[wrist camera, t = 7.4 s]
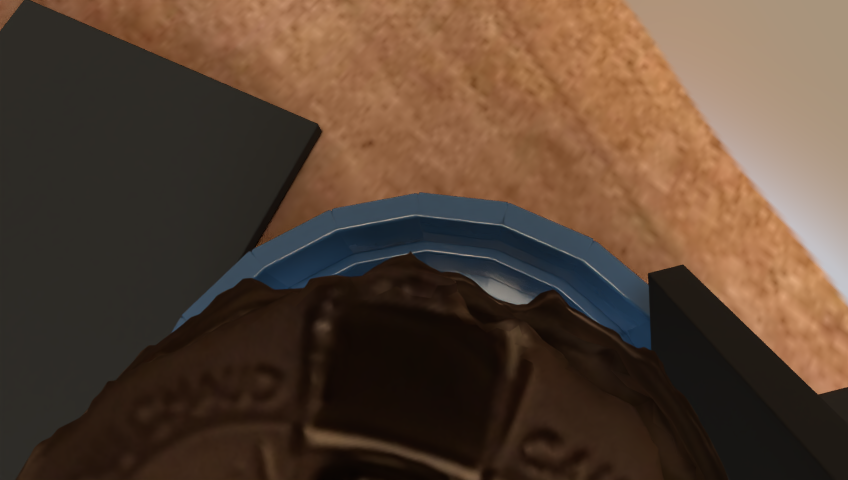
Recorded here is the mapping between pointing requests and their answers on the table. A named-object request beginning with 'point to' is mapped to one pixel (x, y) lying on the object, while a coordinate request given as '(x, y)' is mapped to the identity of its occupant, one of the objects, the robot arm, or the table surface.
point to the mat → (115, 208)
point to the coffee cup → (385, 392)
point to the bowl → (454, 256)
